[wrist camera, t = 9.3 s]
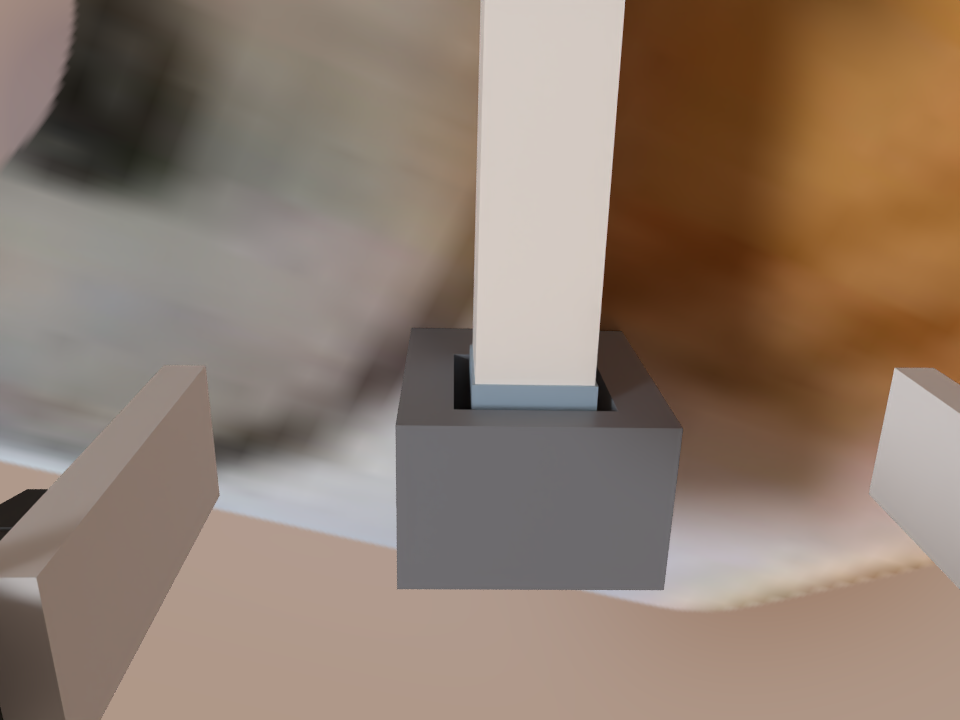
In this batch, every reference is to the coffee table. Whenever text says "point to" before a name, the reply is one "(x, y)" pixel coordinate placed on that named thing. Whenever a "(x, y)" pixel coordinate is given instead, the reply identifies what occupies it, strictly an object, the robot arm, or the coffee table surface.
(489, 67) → the tube
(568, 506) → the socket fitting
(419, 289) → the coffee table surface
